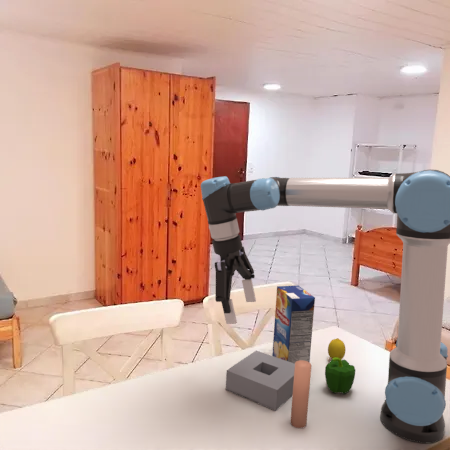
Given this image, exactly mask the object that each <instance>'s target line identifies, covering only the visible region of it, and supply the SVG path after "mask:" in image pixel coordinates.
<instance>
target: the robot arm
mask: <svg viewBox="0 0 450 450" xmlns="http://www.w3.org/2000/svg"><path fill="white" fill-rule="evenodd" d="M200 190H201V191H200V192H201V197H202V198H201V200H202V201H203V206H204V211H205V214H206V218H207V223H208V230H209V233H210V237H211V239H213V240H212V241H211V242H212V247H213V250H214V251H213V252H214V254H216V255H218V256H219V258H220V259H219V261H217V262H216V261H215V262H214V269H215V297H214V299H215V302H216V303H221V306H222V307H221V308H222V309H223V314H224V319H225V324H227V325H236V324H237V323H238V320H237V317H236V312H235V308H234V302H233V299H232V298H231V291H232V290H231V289H232V282H233V281H232V280H233V277H234V275H235V273H236V272H237V273H238V275H240V276H241V278H242V280H241V284H242V288H243V292H244V298H245V303H256V301H257V298H256V294H255V290H254V284H253V280H252V279H255V277H256V276H255V270H254V268H253V266H252V263H251V262H250V259H249V258H248V255H247V253H246V252H245V251H246V250H245V247H244V246H243V243H242V239H241V238H242V237H241V235H240V234H239V233H240V227H239V223H238V218H237V214H238V213H246V212H257V211H266V210H269V209H270V210H271V209H275V208H277V207H278V206H279V207H291V206H292V207H309V208H310V207H312V208H313V207H315V208H346V209H348V208H349V209H375V210H378V209H379V210H382V209H383V210H389V211H390V212H391V213H392V214H396V230H395V231H396V232H395V233H396V234H395V235H396V236H397V237H398V238H399V239H400V240H401V242H402V243H403V244H402V259H401V278H400V296H399V309H398V310H399V313H398V326H397V327H398V329H397V339H396V344H394V345H395V347H394V348H393V349H392V350H390V351H389V357H388V359H389V360H388V361H389V362H388V377H387V384H386V387H385V389H384V395H385V396H384V397H385V400H384V402H383V403H382V405H381V408H380V414H379V415H380V416H379V418H380V421H381V424H382V425H383V426H384V427H385V428H386V429H387V430H388V431H390V432H391V433H392V434H394V435H396V436H398V437H400V438H402V439H405V440H408V441H411V442H416V443H421V442H422V444H423V443H425V444H426V442H431V443H435V441H436V442H438V441H440V440H441V439H443V438H444V436H445V429H446V422H445V418H444V411H445V409H446V406H447V403H446V401H447V400H446V385H447V384H446V383H447V373H448V372H447V368H448V361H447V360H448V357H449V355H448V353H449V352H448V350H449V349H448V346H447V345H446V344H445V343H444V342H442V331H443V317H444V316H443V315H444V305H445V290H446V289H445V288H446V275H447V263H448V261H447V260H448V250H449V249H448V248H449V247H448V246H449V245H450V175H449V174H447V173H446V172H444V171H442V170H439V169H424V170H420V171H415V172H404V173H401V172H400V173H393V174H392V175H391V176H390V177H279V176H272V177H267V178H264V177H263V178H257V179H251V180H246V181H241V182H233V183H231V182H230V179H229V178H228V176H226V175H225V176H218V177H212V178H209V179H208V178H207V179H206V180H203V181H202V182H201V183H200Z"/></svg>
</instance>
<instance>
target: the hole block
mask: <svg viewBox="0 0 450 450" xmlns="http://www.w3.org/2000/svg"><path fill="white" fill-rule="evenodd" d="M294 370H295V364H294V363H291V362H288V361H286V360H283V359H280V358H277V357H274V356H272V354H271V355H270V354H268V353H265V352H262V351H260V350H259V351H258V350H254V351H253V352H252V353H250V354H248V355H247V356H246V357H244V358H243V359H241V360H240V361H238V362H237V363H235V364H234V365H232V366H231V367H229V368H228V369H226V373H225V375H226V376H225V379H226V380H225V391H227V392H230V393H232V394H234V395H236V396H239V397H241V398H243V399H246V400H249V401H251V402H253V403H255V404H257V405H260V406H263V407H265V408H267V409H270V410H272V411H274V412H276V411H278V409H280V408H281V406H283V405H284V404H285V403H286V402H287V401H288V400H289V399H290V398H292V395H293V383H294Z"/></svg>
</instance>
